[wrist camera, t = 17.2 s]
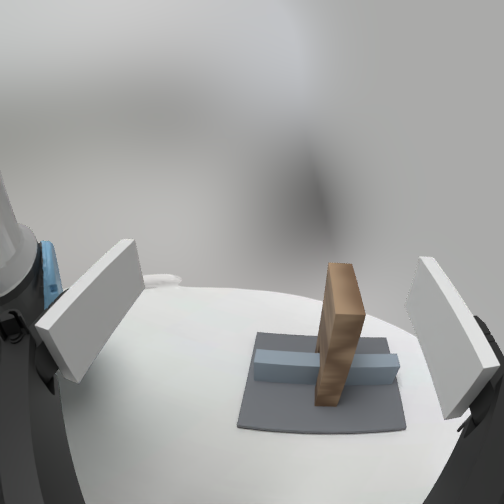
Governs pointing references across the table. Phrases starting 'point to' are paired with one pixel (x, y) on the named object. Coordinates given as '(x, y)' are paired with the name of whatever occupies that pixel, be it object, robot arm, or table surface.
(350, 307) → the brown notched block
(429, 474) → the table surface
